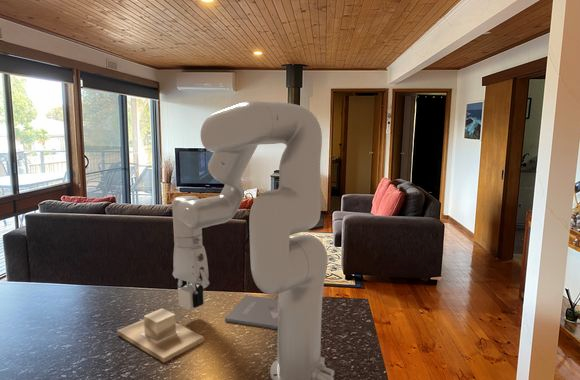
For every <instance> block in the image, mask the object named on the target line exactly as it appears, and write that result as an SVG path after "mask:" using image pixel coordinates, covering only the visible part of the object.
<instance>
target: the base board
mask: <svg viewBox="0 0 580 380" xmlns="http://www.w3.org/2000/svg"><path fill="white" fill-rule="evenodd" d="M116 331H117V332H116V333H117V336H119V337H121V338H122V339H124V340H125V341H127V342H128V343H131V344H132V345H134V346H135V347H137V348H139V349H140V350H142V351H144V352H145V353H147V354H149V355H150V356H152V357H154V358H155V359H157V360H158V359H159V360H158V361H160V362H161V363H163V364H164V363H167V362H168V361H170V360H172V359H174V358H176V357H177V356H179V355H181V354H183V353H185V352H186V351H188V350H190V349H192V348H194V347H196V346H198V345H200V344H201V343H203V342H205V337H204V336H203V335H201V334H199V333H197V332H195V331H193V330H190V328H187V327H185V326H183V325H181V324H178V323H176V333H174V334H172V335H170V336H167V337H165V338H163V339H161V340H159V341H156V340H154V339H153V338H151V337H149V336H147V335H145V330H144V318H143V319H141V320H139V321H136V322H134V323H132V324H129V325H127V326H124V327H122V328H120V329H117V330H116ZM175 356H176V357H175ZM173 357H174V358H173Z"/></svg>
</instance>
